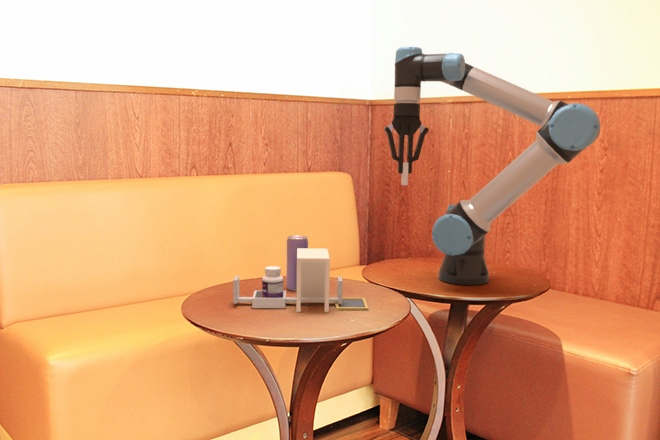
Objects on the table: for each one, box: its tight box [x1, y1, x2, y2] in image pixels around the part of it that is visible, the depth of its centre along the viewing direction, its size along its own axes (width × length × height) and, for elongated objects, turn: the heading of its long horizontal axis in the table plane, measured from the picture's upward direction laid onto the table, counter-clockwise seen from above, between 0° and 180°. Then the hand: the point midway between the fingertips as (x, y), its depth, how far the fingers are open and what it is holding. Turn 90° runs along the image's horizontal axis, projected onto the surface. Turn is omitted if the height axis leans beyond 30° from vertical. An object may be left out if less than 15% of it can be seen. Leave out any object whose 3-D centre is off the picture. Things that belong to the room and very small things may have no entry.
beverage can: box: [286, 234, 309, 292], centre depth 181 cm, size 6×6×15 cm
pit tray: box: [334, 297, 369, 311], centre depth 166 cm, size 8×10×1 cm
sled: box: [232, 275, 344, 309], centre depth 165 cm, size 28×8×7 cm, turn 93°
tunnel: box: [295, 247, 331, 313], centre depth 165 cm, size 8×14×14 cm, turn 3°
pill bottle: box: [261, 265, 284, 298], centre depth 164 cm, size 5×5×10 cm
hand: (404, 184), depth 188 cm, fingers closed
